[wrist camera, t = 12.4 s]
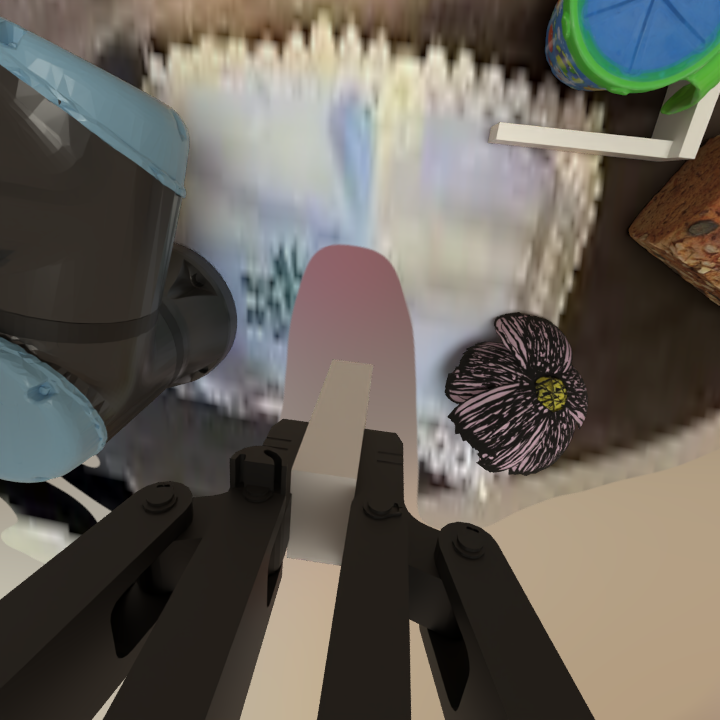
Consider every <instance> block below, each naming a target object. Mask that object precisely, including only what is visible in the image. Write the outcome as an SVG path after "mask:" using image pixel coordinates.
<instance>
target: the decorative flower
mask: <svg viewBox="0 0 720 720" xmlns="http://www.w3.org/2000/svg"><path fill="white" fill-rule="evenodd" d="M494 326H495V330H496V333H497V334H498V335H499V337H500V339H501V341H502V343H495V342H481V343H477V344H475V346H472V347H470V348H467V351H466V352H464V353H463V354H464V356H463V357H462V359H461V360H460V364H459V366H458V367H456V368H455V370H454V371H453V372H452V373H449V374H448V378H447V382H446V386H445V388H446V389H445V393H446V396H447V397H448V399H450V400H451V401H452V402H455V403H457V404H459V405H458V406H457V407H456V408H454V410H453V411H452V412H451V413H450V414H449V415H448V418H450V419H451V421H452V422H454V424H455V434H459V433H460V435H461V437H462V440H463V441H465V440H466V441H467V442H468V443H469V444H470V445H471V446H472V448H475V450H478V451H479V453H478V456H479V462H476V463H478V464H479V465H480V466H481V467H483V468H484V469H485V470H488V471H489V472H493V473H494V472H501V471H504V470H507V469H509V475H510V474H514V475H516V474H522V475H525V476H527V475H529V474H534V473H537V472H539V471H541V470H544V469H546V468H548V467H549V466H550V465H552V464H554V463H555V462H556V461H557V460H558V459H559V458H560V456H561V455H562V454H563V453H564V451H565V450H566V449H567V447H568V445H569V443H570V441H571V439H572V437H573V433H574V430H575V424H576V423H577V424H578V427H579V429H580V427H581V425H582V424H583V422H584V419H585V417H586V413H587V404H588V396H587V391H586V386H585V384H584V382H583V379H582V377H581V376H580V374H579V373H578V371H577V370H576V369H575V368H574V367H573V366H572V364H571V362H572V349H571V346H570V344H569V343H568V341H567V339H566V337H565V335H564V334H563V333H562V332H561V331H560V330H559V329H558V327H556V326H555V325H554V324H553V323H552V322H549V321H548V320H546V319H545V318H544V319H543V318H540V317H537V316H530V315H524V314H521V313H520V312H518V313H510V314H505V315H501V316H500V317H497V318H496V319H495V322H494Z"/></svg>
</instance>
